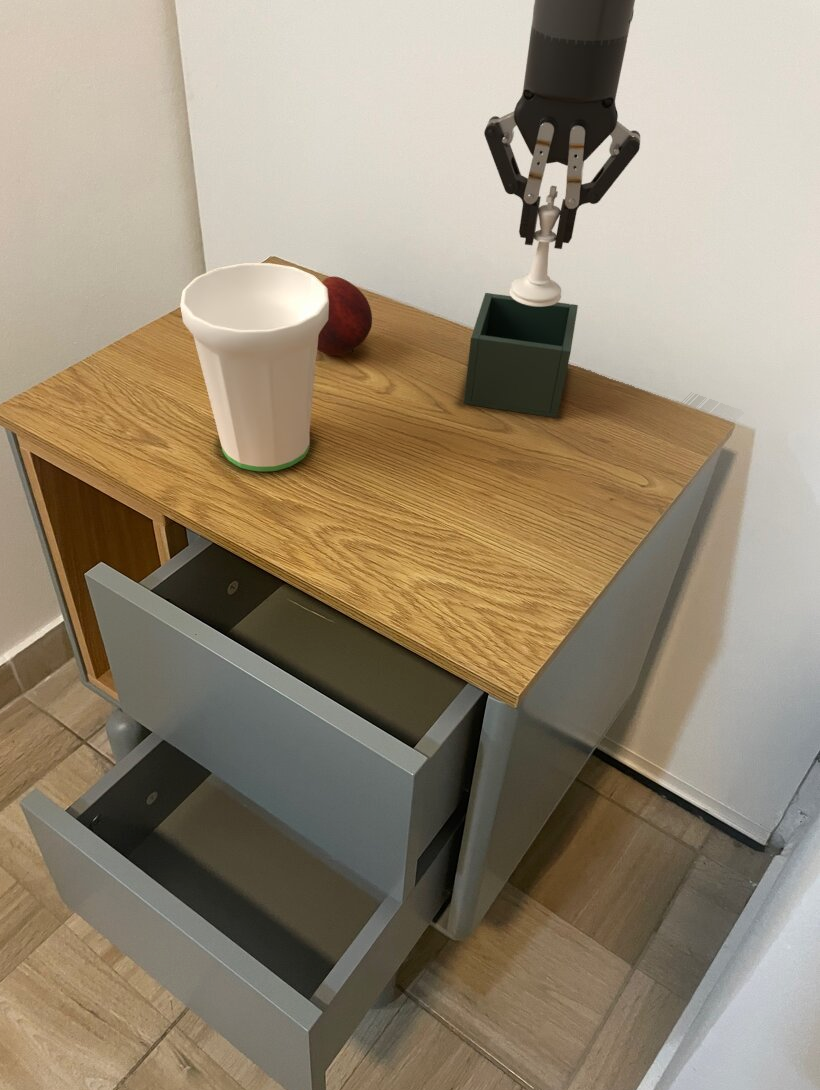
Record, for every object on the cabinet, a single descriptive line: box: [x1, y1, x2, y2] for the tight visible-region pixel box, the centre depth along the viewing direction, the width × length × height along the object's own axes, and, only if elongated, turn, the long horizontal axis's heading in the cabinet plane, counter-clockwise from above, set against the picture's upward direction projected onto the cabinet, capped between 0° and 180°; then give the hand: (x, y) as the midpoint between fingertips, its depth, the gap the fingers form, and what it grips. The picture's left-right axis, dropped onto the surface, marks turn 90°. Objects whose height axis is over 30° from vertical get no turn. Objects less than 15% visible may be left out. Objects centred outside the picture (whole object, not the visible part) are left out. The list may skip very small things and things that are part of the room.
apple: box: [317, 276, 373, 356], centre depth 94 cm, size 7×8×8 cm
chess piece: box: [509, 185, 562, 307], centre depth 81 cm, size 5×5×10 cm
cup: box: [179, 262, 329, 472], centre depth 79 cm, size 12×12×15 cm
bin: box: [463, 292, 579, 419], centre depth 90 cm, size 10×10×8 cm
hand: (544, 242), depth 80 cm, fingers closed on chess piece
